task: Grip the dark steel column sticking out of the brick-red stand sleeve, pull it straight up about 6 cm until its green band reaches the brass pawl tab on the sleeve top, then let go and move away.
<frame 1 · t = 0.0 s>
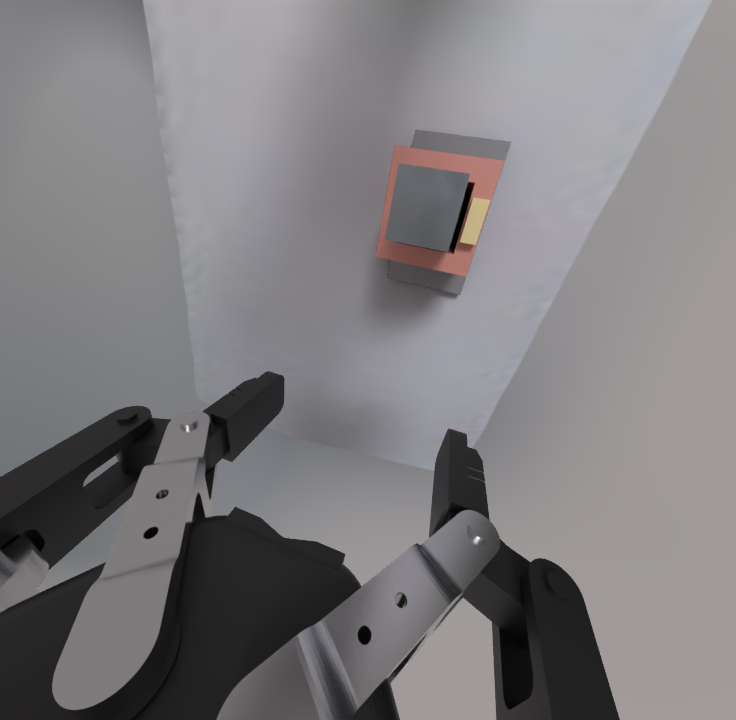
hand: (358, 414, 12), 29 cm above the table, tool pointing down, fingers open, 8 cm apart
steel column: (434, 216, 24), point 11 cm above the table, slide at 0.0 cm
stand sleeve: (440, 220, 33), on the table
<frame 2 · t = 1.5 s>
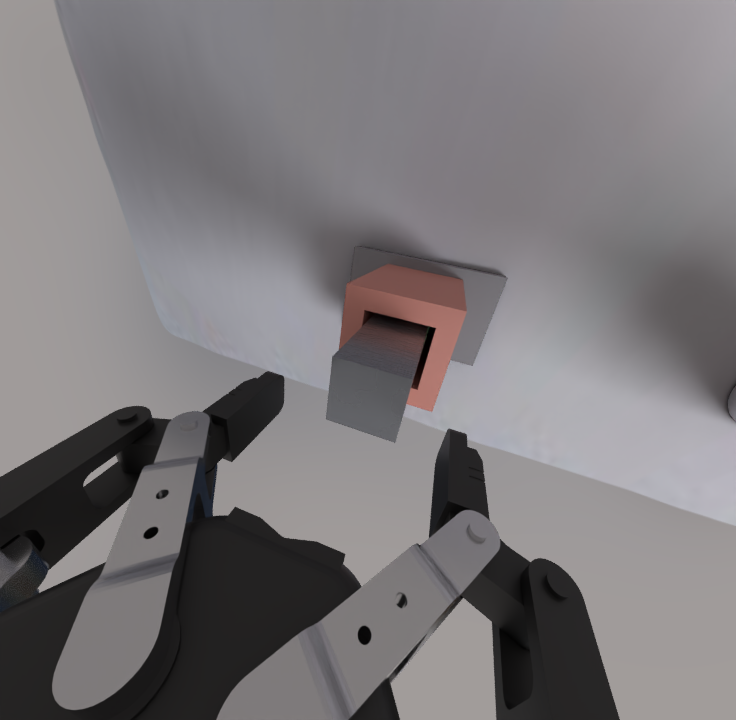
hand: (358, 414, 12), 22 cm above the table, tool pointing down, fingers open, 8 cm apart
steel column: (399, 338, 22), point 11 cm above the table, slide at 0.0 cm
stand sleeve: (417, 304, 31), on the table
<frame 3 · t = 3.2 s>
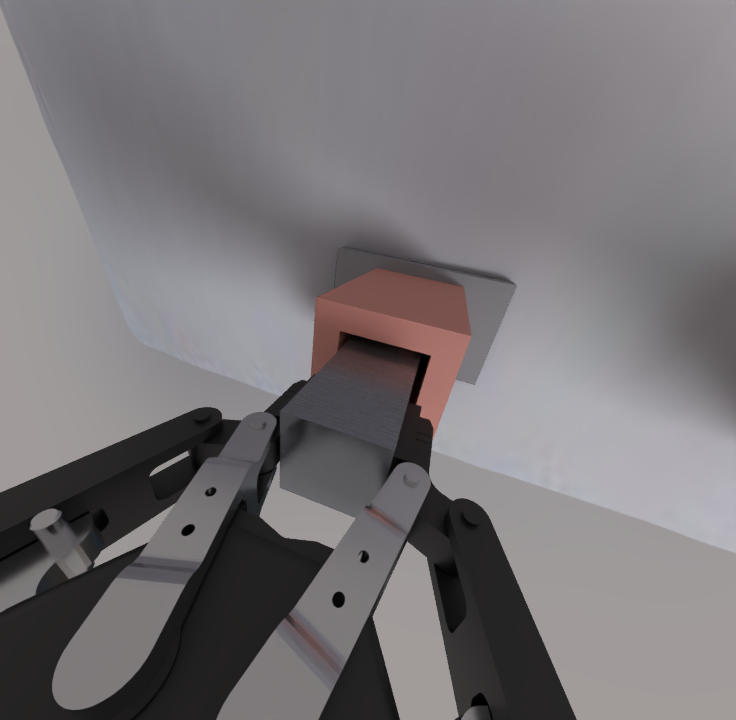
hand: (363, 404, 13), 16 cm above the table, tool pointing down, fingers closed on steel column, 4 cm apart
steel column: (386, 361, 18), point 11 cm above the table, slide at 0.0 cm, touching gripper
stand sleeve: (411, 314, 27), on the table
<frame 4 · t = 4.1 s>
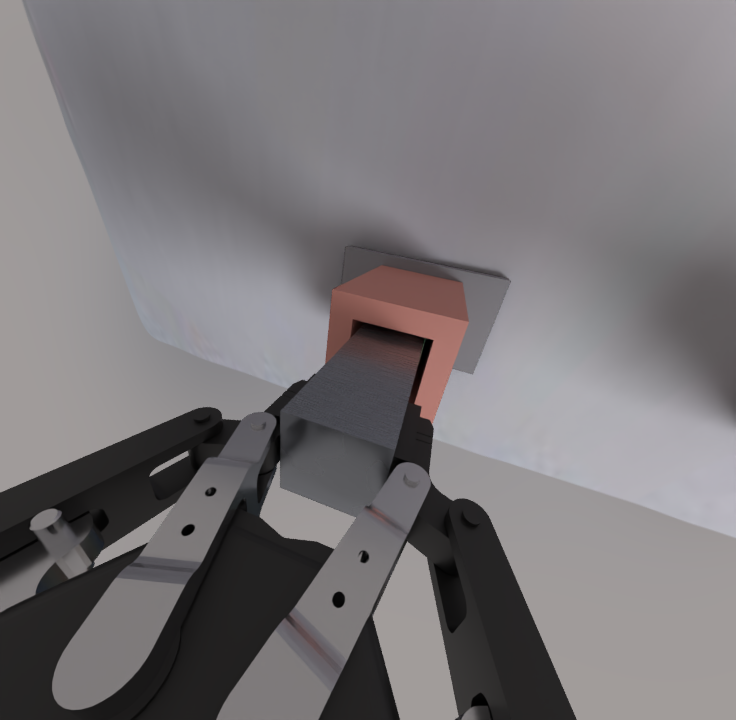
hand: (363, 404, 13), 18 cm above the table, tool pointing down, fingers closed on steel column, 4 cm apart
steel column: (386, 361, 18), point 13 cm above the table, slide at 2.2 cm, touching gripper
stand sleeve: (413, 309, 29), on the table
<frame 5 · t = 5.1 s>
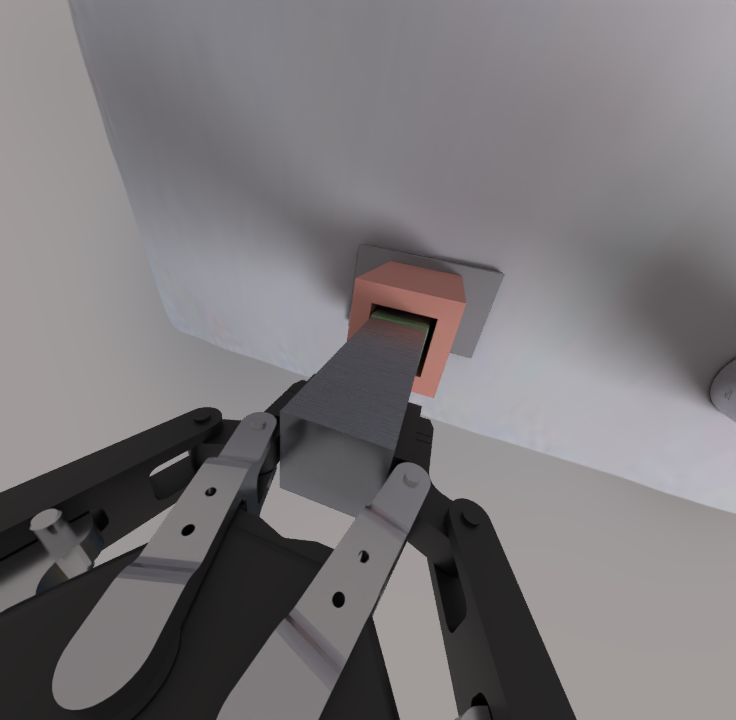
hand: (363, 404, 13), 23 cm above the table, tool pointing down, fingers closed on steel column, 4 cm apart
steel column: (386, 361, 18), point 18 cm above the table, slide at 6.4 cm, touching gripper
stand sleeve: (418, 300, 33), on the table
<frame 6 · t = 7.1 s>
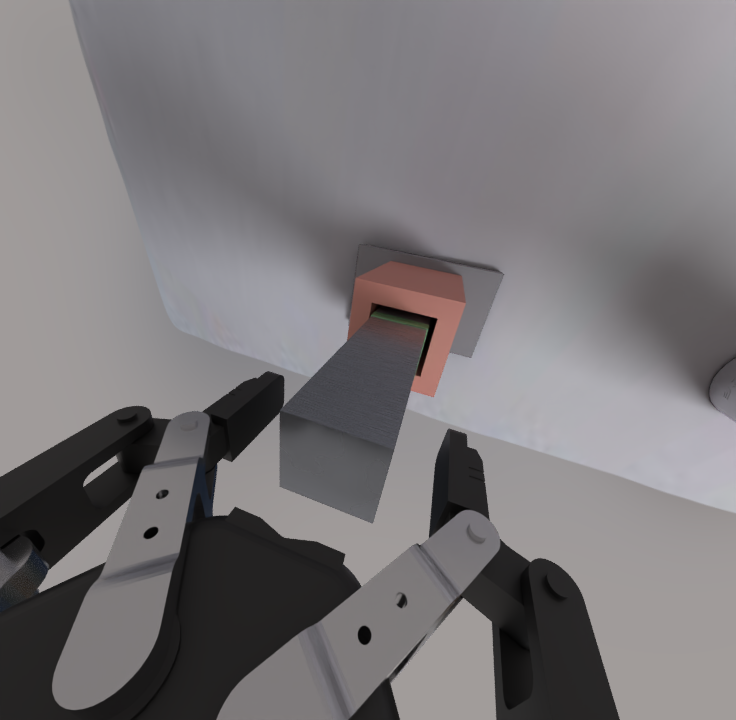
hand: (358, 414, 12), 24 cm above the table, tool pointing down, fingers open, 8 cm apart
steel column: (386, 361, 18), point 18 cm above the table, slide at 6.4 cm
stand sleeve: (418, 300, 33), on the table
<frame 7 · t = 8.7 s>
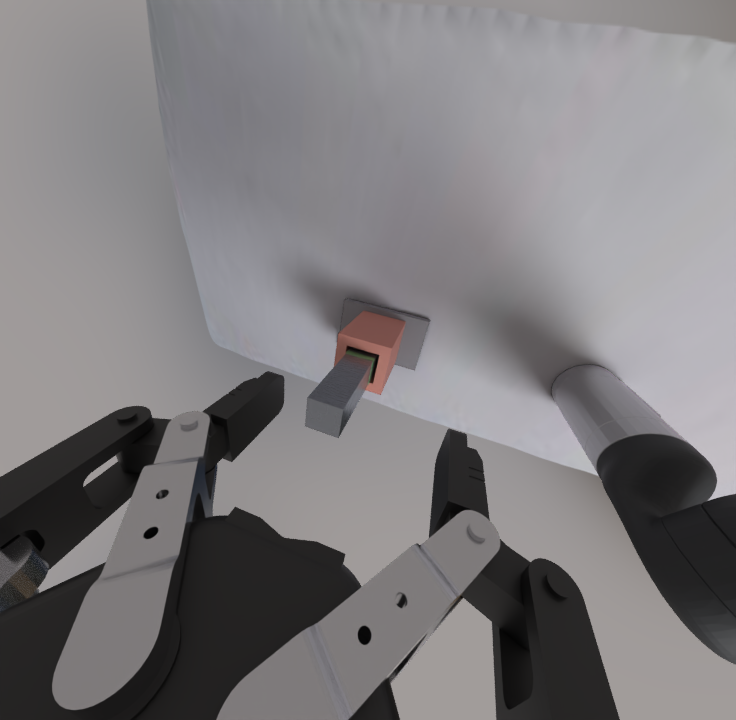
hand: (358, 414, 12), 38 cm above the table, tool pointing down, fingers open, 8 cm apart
steel column: (351, 376, 36), point 18 cm above the table, slide at 6.4 cm
stand sleeve: (382, 333, 52), on the table
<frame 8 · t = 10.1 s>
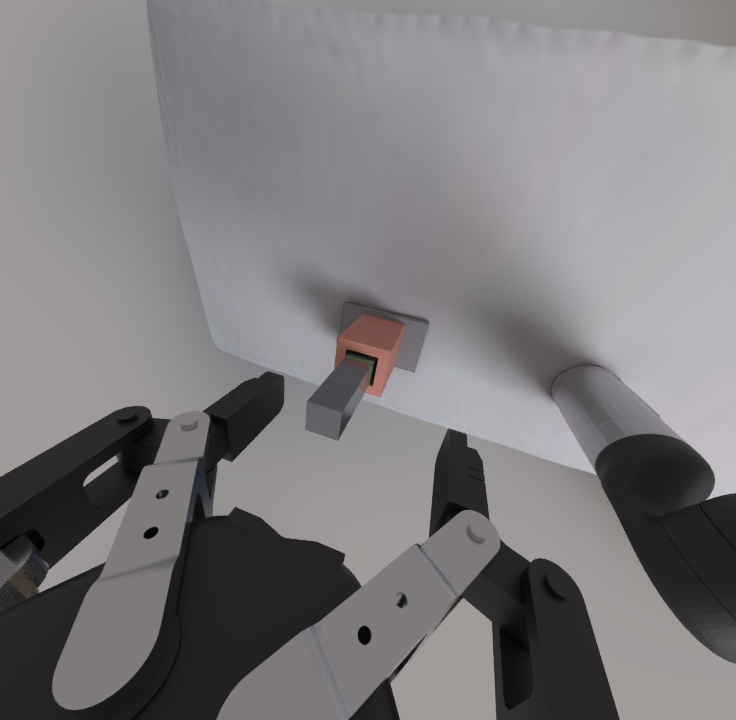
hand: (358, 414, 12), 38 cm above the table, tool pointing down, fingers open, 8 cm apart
steel column: (351, 379, 37), point 18 cm above the table, slide at 6.4 cm
stand sleeve: (381, 336, 52), on the table
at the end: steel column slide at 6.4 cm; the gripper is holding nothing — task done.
